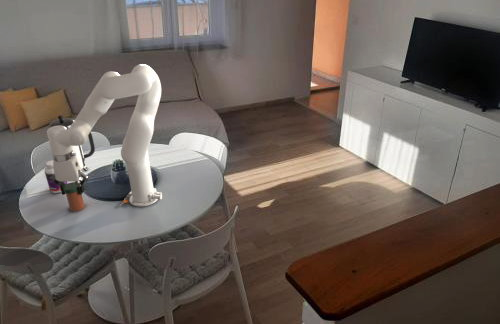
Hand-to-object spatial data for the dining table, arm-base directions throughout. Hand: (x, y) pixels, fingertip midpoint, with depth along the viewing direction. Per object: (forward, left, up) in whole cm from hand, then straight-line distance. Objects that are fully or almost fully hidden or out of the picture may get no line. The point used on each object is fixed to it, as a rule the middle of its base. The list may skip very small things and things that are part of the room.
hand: (73, 192), depth 175 cm
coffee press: (+23, -32, -8) cm, 40 cm away
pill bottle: (+18, -12, -8) cm, 23 cm away
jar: (0, 0, -8) cm, 8 cm away
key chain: (-19, -10, -8) cm, 23 cm away
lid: (0, 0, +3) cm, 3 cm away
